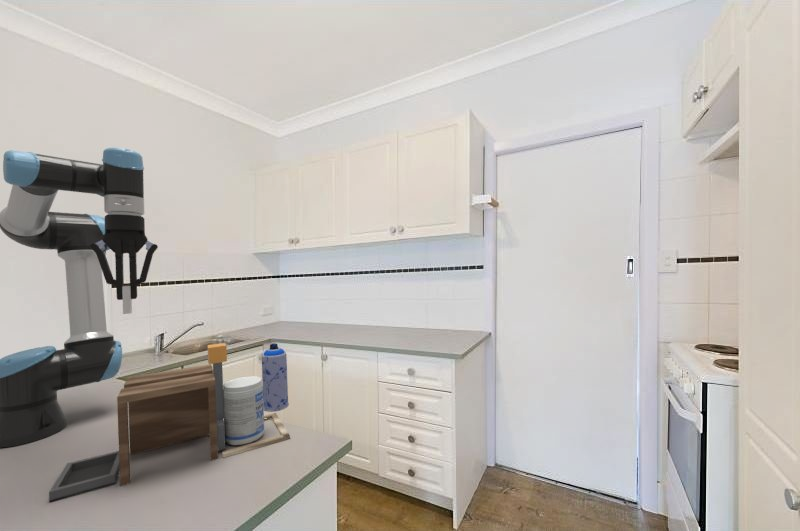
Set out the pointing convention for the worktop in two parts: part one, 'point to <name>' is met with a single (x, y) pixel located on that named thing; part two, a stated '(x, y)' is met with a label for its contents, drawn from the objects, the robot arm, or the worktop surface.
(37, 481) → the worktop surface
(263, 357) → the aerosol can
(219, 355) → the slider
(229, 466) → the worktop surface
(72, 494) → the tray
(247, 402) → the supplement tub
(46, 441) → the worktop surface
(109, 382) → the worktop surface
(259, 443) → the frame
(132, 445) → the walnut tunnel
